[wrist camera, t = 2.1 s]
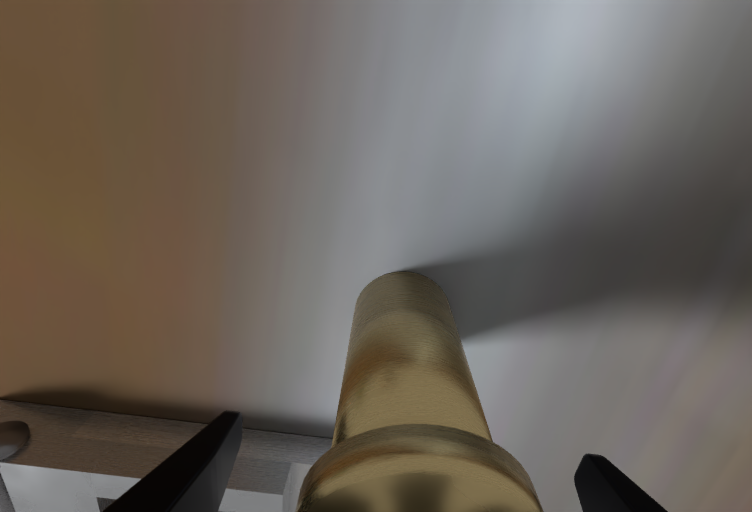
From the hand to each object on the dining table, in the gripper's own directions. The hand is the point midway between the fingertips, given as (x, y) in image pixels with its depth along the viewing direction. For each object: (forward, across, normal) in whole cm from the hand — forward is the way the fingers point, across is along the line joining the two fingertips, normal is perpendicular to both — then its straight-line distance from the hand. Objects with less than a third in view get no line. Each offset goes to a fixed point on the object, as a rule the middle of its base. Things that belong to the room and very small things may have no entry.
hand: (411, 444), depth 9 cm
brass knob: (+6, 0, 0) cm, 6 cm away
